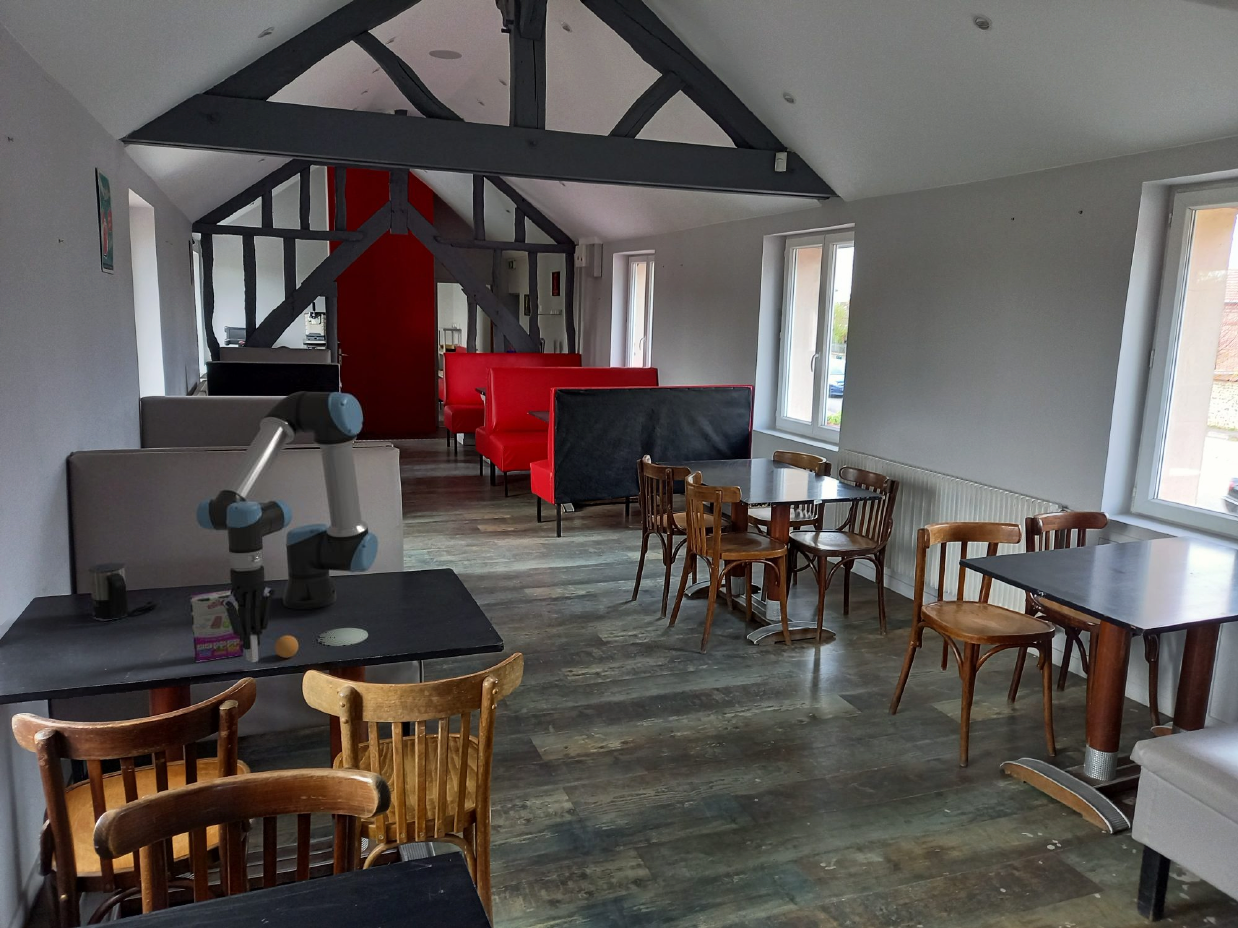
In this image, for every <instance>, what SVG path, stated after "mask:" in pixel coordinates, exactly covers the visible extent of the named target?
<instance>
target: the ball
mask: <svg viewBox="0 0 1238 928" xmlns="http://www.w3.org/2000/svg"><path fill="white" fill-rule="evenodd" d="M274 645H275V647H274V648H275V649H274V650H275V652H276V654H277V655H278V656H279V657H281V658H286V659H287V658H291V657H293V656H295V654H296V653H297V651H298V650H299V643H298V640H297V638H295V637H294V636H292V635H287V634H286V635H282V636H281V637H279V638H278V639H277V640H276V642H275V644H274Z"/></svg>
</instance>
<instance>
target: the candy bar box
mask: <svg viewBox="0 0 1238 928" xmlns="http://www.w3.org/2000/svg"><path fill="white" fill-rule="evenodd" d="M231 590H232V589H230V590H224V591H223V590H221V591H215V592H209V593H207V592H206V593H200V594H199V593H198V594H193V595H192V594H191V595H190V596H189V602H190V603H189V605H190V615H191V616H190V617H191V625H192V626H191V627H192V639H193V649H194V650H193V651H194V661H200V660H210V659H216V658H222V657H229V656H235V655H243V656H244V648H243V644H242V637H240V636H237V635H235V634H234V633H233V630H232V626H231V623H230V620H229V617H228V614H227V611H226V608H225V607H224V606H223V605H222V603H221V602H222V600H226V599H227V598H228V597H229V596H230V592H231ZM234 602H235V605H234V606H235V607H236V609H237V612H238V616H239V619H240V613H239V608H238V603H237V602H236V601H235V600H234Z"/></svg>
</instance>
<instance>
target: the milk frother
mask: <svg viewBox="0 0 1238 928" xmlns="http://www.w3.org/2000/svg"><path fill="white" fill-rule="evenodd" d="M125 567H126V564H125V563H124V562H106V563H100V564H95V565H91V566H89V567H88V568H87V571H88V573H89V582H90V592H91V593H90V594H91V599H92V600H91V602H92V610H93V611H92V614H93V616H94V617H96V618H102V619H113V618H120V617H122V616H125V615H128V614H129V613H130V614H132V613H135V612H138V611H141V610H144V609H148V610H149V609H151V608H154V607H155V608H156V607H157V606H158V605H160V604H162V600H153V599H151V600H147V601H146V604H144V605H141V606H138V607H136V608H134V609H132V610H129V604H128V603H129V602H128V595H127V583H126V572H125V571H126V570H125ZM155 608H154V609H155ZM151 610H152V609H151ZM130 614H129V615H130ZM129 615H128V616H129ZM93 616H92V617H93Z"/></svg>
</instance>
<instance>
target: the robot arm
mask: <svg viewBox="0 0 1238 928" xmlns="http://www.w3.org/2000/svg"><path fill="white" fill-rule="evenodd" d="M363 422H364V417H363V410H362V407H361V404H360V403H359V401H358V400H357V398H356V397H355V396H353V395H352V394H350V393H346V392H345V393H343V392H338V391H335V392H334V391H333V392H331V391H297V392H294V393H291V394H288V395H287V396H284V398H282V399H280V400H279V401H278V402H277V403H275V404H274V405H273V406H272V407H271V408H270V409H269V410H268V411H267V413H265V415H264V416H263V418H262V419H261V421H260V423H259V428H260V430H259V431H258V432H257V435H256V436H255V437H254V439H253V440H252V442H251V443H250V445H249V446H248V448H247V450H246V451H245V453H244V454H243V455H242V458H240V460H239V462H238V463H237V464H236V467H235V468H234V469H233V471H232V473H231V474H230V475H229V477H228V479H227V480H226V482H225V483H224V485H223V486H222V487H221V490H220V491H219V493H218V494H217V495H216V497H215V498H214V499H213V498H210V499H204V500H202V501H201V502H200V503H199V504H198V506H197V509H196V512H195V516H196V521H197V523H198V525H199V526H200V527H201V528H202V529H207V530H212V531H217V532H218V531H227V539H228V540H227V541H228V558H229V559H228V561H229V567H230V569H229V576H230V584H231V589H230V590H231V592H230V596H229V597H228V598H227V599H226V600H222V602H221V603H222V605H223V606H224V607H225V608H226V611H227V614H228V617H229V620H230V623H231V626H232V630H233V633H234V634H235V635H237V636H240V637H242V644H243V650H245V657H246V658H245V659H246V661H248V662H250V663H256V662H258V661H259V651H258V650H259V648H258V647H259V646H261V635H262V634H263V630H264V631H265V630H267V628H268V623H269V618H270V611H271V605H272V600H273V598H274V595H275V592H276V590H275V589H273V588H269V587H267V586H266V583H265V582H264V581H265V567H264V566H263V565H264V549H263V548H264V546H263V545H264V544H263V537H266V536H268V535H271V534H274V533H277V532H280V531H282V530H283V529H285V528H287V527H288V526H289V525H290V524H291V522H292V519H293V512H292V508H291V507H290V505H289V504H288V503H287V502H285V501H284V500H281V499H275V500H270V501H268V502H259V501H258V502H256V501H252V499H253V498H254V496H255V494H256V493H257V491H258V489H259V488H260V486H261V485H262V483H263V481H264V480H265V478H266V476H267V475H268V473H269V472H270V470H271V468H272V467H273V465H274V463H275V462H276V460H277V459H278V457H279V456H280V454H281V452H282V451H283V449H284V448H285V446H286V444H287V443H291V442H292V441H294V438H295V437H296V436H297V435H300V434H304V433H305V434H312V438H313V443H314V444H315V445H317V447H319V448H320V455H321V460H322V461H321V463H322V468H323V469H322V470H323V477H324V483H325V484H324V485H325V490H326V498H327V504H328V513H329V520H330V525H329V526H328V525H327V523H326V524H325V523H314V524H313V523H312V524H305V525H302V526H298V527H294V528H292V529H290V530H288V532H287V533H286V540H285V541H286V543H285V546H286V558H287V559H286V560H287V561H286V562H287V577H288V578H287V581H286V586H285V590H284V593H283V595H282V601H283V602H282V603H283V606H285V607H286V608H289V609H294V610H312V609H319V608H323V607H327V606H329V605H331V604H334V603H335V602H336V601H337V591H336V588H335V586H334V584H333V580H332V578H331V576H330V571H336V572H337V571H338V572H349V573H364V572H367V571H368V570H369V569H370V568H371V567H372V566H373V565H374V562H375V560H376V558H377V554H378V550H379V548H378V547H379V540H378V537H377V535H376V534H375V533H373V532H369V527H368V524H367V522H366V521H364V520H362V514H361V507H360V506H361V505H360V497H359V491H358V490H359V489H358V483H357V482H358V480H357V473H356V466H355V465H356V464H355V456H354V449H353V443H354V442H355V441H356V439H357V438H358V437H357V435H358V434H359V433H360V432H361V430H362V429H363ZM234 600H235V601H236V602H237V603H238V608H239V613H240V619H239V616H238V612H237V609H236V607H235V606H234V605H235V602H234Z"/></svg>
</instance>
